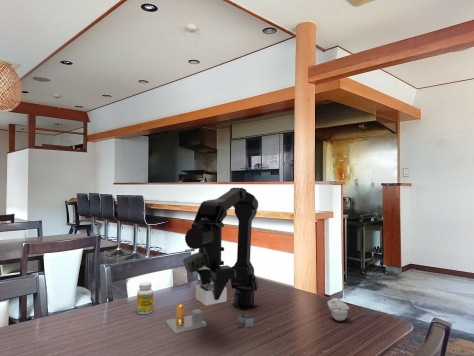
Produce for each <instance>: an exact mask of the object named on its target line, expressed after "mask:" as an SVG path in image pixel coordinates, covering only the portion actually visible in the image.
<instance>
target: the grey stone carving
mask: <svg viewBox="0 0 474 356" xmlns="http://www.w3.org/2000/svg"><path fill="white" fill-rule="evenodd" d="M327 307H328V309H329V310H330V311H331V316H332V318H333V319H334V320H336V321H339V322H340V321H341V322H342V321H344V320H346V318H347V316H348V311H349V310H350V307H349V305H347V304H346V303H345V302H343V301H342V300H340V298H337V297H333V298H332V299H329V300H328V301H327Z"/></svg>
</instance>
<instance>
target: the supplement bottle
mask: <svg viewBox="0 0 474 356" xmlns="http://www.w3.org/2000/svg"><path fill="white" fill-rule="evenodd" d="M138 288H139V289H138V290H137V293H136V313H137V314H139V315H148V314H150V313H152V312H153V311H154V290H153V288H152V283H151V282H149V281H144V282H140V283H139V287H138Z"/></svg>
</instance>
